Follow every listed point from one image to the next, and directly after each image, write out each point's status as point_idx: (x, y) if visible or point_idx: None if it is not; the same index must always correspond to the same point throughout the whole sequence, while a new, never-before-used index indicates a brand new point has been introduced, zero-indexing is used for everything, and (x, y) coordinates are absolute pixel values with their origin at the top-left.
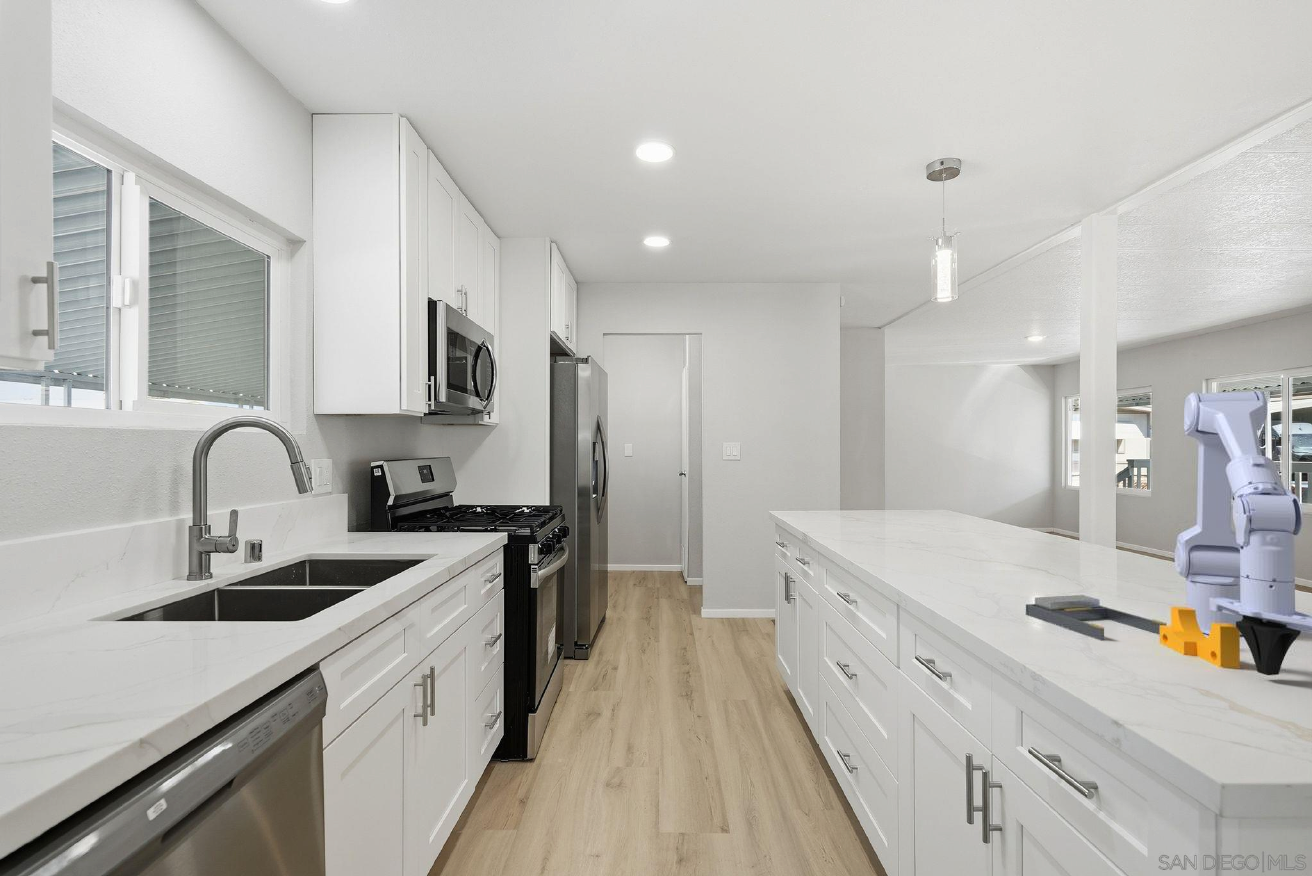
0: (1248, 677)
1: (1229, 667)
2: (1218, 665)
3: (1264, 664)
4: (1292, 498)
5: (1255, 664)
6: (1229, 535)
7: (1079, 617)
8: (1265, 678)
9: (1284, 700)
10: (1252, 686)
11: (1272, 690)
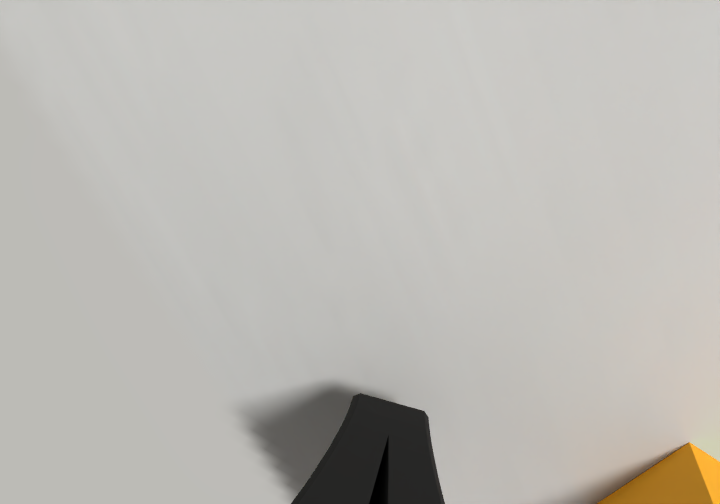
0: (483, 370)
1: (643, 479)
2: (710, 461)
3: (353, 445)
4: None
5: (429, 449)
6: None
7: None
8: None
9: (90, 25)
10: (371, 178)
11: (262, 207)
